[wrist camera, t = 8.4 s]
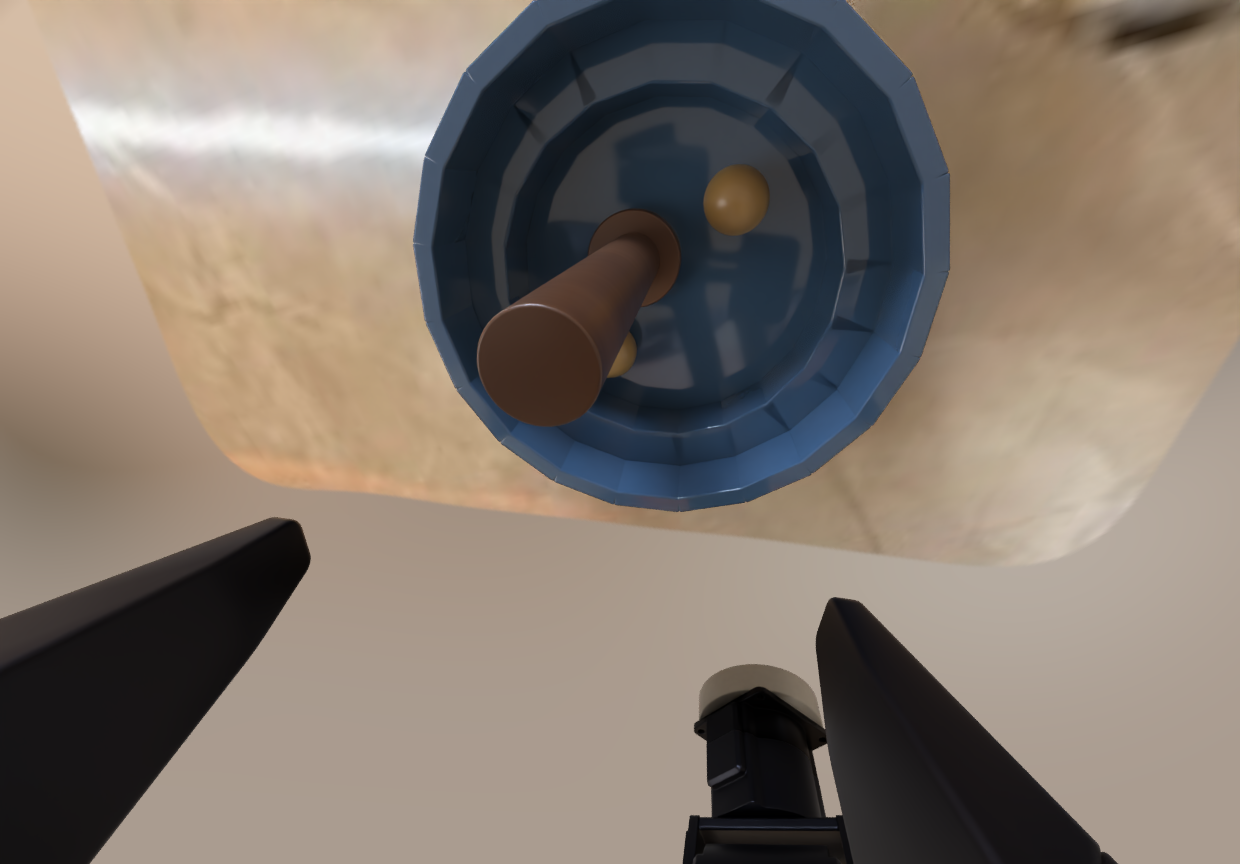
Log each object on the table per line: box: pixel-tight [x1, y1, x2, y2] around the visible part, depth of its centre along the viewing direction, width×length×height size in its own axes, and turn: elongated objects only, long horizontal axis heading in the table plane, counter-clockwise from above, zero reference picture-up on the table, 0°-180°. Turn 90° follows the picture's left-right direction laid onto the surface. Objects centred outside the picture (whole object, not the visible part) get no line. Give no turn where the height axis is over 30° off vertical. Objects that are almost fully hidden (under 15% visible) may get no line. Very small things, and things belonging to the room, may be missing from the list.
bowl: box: [413, 0, 950, 512], centre depth 15 cm, size 14×14×5 cm
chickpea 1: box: [607, 332, 637, 378], centre depth 18 cm, size 2×2×2 cm
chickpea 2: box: [703, 164, 770, 236], centre depth 15 cm, size 2×2×2 cm
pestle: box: [477, 208, 681, 427], centre depth 12 cm, size 3×3×12 cm
